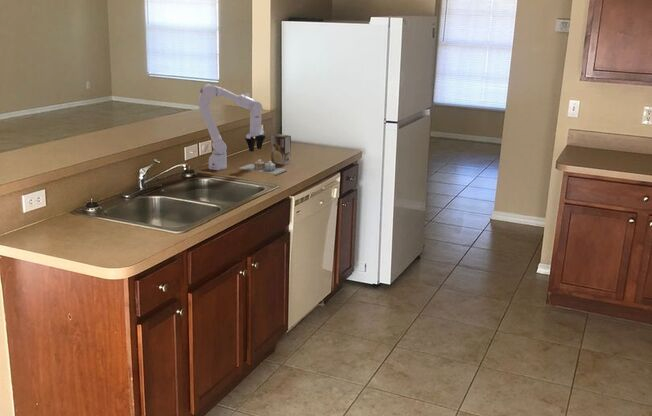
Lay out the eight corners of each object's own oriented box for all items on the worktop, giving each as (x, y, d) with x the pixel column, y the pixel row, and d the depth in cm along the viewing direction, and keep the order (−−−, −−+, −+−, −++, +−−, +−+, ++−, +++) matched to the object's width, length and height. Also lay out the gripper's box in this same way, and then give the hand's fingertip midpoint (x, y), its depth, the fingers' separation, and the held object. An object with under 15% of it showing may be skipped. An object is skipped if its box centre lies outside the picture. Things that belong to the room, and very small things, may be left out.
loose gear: (261, 169, 347) (261, 164, 346) (252, 168, 349) (252, 162, 348) (266, 167, 352) (266, 162, 351) (257, 166, 354) (257, 160, 353)
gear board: (275, 176, 341) (276, 165, 339) (238, 170, 349) (238, 159, 347) (286, 171, 351) (287, 161, 349) (250, 166, 360) (250, 155, 358)
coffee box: (291, 164, 366) (291, 135, 362) (285, 167, 361) (285, 137, 356) (276, 162, 370) (277, 133, 366) (270, 164, 365) (270, 135, 360)
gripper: (254, 127, 340) (254, 153, 344) (269, 123, 353) (268, 148, 357) (243, 125, 343) (242, 151, 347) (257, 121, 356) (257, 147, 359)
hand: (255, 150), depth 352 cm, fingers open, 7 cm apart
